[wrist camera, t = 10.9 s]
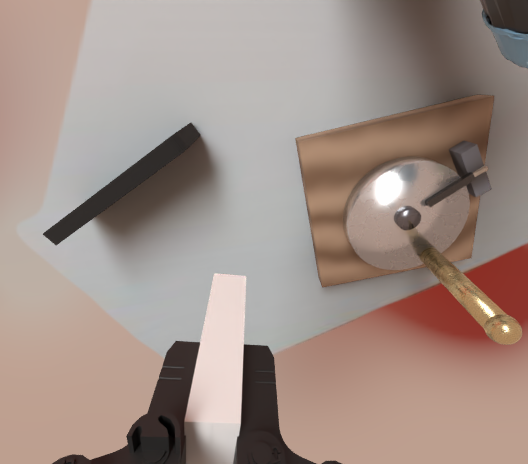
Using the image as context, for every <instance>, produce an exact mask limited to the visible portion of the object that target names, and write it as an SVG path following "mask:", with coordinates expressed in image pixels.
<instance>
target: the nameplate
mask: <svg viewBox="0 0 528 464" xmlns="http://www.w3.org/2000/svg"><path fill="white" fill-rule="evenodd" d="M199 136H200V134H199V133H198V131H197V130H196V129H195V127H194V126H193V125H192V123H189V124H188V125H187V126H185V127H184V128H182V129H181V130H179V131H178V132H176V133H175V134H173V135H172V136H171V137H169V138H168V139H167V140H165V141H164V142H163V143H162V144H160V145H159V146H158V147H156V148H155V149H154V150H152V151H151V152H150V153H148V154H147V155H146V156H144V157H143V158H142V159H140V160H139V161H138V162H137V163H135V164H134V165H133V166H131V167H130V168H129V169H127V170H126V171H125V172H123V173H122V174H121V175H119V176H118V177H117V178H116V179H114V180H113V181H112V182H110V183H109V184H108V185H106V186H105V187H104V188H102V189H101V190H100V191H98V192H97V193H96V194H94V195H93V196H92V197H91V198H89V199H88V200H87V201H85V202H84V203H83V204H81V205H80V206H79V207H77V208H76V209H75V210H73V211H72V212H71V213H69V214H68V215H67V216H66V217H64V218H63V219H62V220H60V221H59V222H58V223H56V224H55V225H54V226H52V227H51V228H50V229H48V230H47V231H46V232H44V233H43V235H44V236H45V237H47V238H48V239H49V240H50V241H51V242H53V243H54V244H55V245H57V244H59V243H60V242H61V241H63V240H64V239H66V238H67V237H68V236H70V235H71V234H72V233H74V232H75V231H76V230H78V229H79V228H81V227H82V226H83V225H85V224H86V223H87V222H89V221H90V220H91V219H93V218H94V217H96V216H97V215H98V214H100V213H101V212H102V211H104V210H105V209H106V208H108V207H109V206H111V205H112V204H113V203H115V202H116V201H117V200H119V199H120V198H121V197H123V196H124V195H126V194H127V193H128V192H130V191H131V190H132V189H134V188H135V187H136V186H138V185H139V184H141V183H142V182H143V181H145V180H146V179H147V178H149V177H150V176H151V175H153V174H154V173H156V172H157V171H158V170H160V169H161V168H162V167H164V166H165V165H166V164H168V163H169V162H171V161H172V160H173V159H175V158H176V157H177V156H179V155H180V154H181V153H183V152H184V151H185V150H186V149H188V148H189V147H190V145H191V144H192V143H193V142H194V141H195V140H196V139H197V138H198V137H199Z"/></svg>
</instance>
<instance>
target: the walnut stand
mask: <svg viewBox="0 0 528 464" xmlns="http://www.w3.org/2000/svg"><path fill="white" fill-rule="evenodd" d="M493 102H494V96H490V95H474V96H469V97H465V98H461V99H457V100H453V101H448V102H444V103H440V104H436V105H432V106H427V107H423V108H419V109H415V110H411V111H407V112H402V113H398V114H394V115H390V116H386V117H381V118H377V119H373V120H369V121H365V122H360V123H356V124H352V125H348V126H344V127H340V128H335V129H331V130H327V131H323V132H319V133H314V134H310V135H306V136H302V137H298V138H295V139H296V145H297V151H298V157H299V162H300V168H301V174H302V180H303V186H304V192H305V198H306V204H307V210H308V216H309V222H310V228H311V234H312V240H313V246H314V252H315V258H316V264H317V270H318V276H319V279H320V282H321V285H322V287H327V286H332V285H337V284H342V283H347V282H352V281H357V280H362V279H367V278H372V277H378V276H383V275H388V274H393V273H398V272H403V271H408V270H413V269H418V268H423V267H426V266H425V265H424V264H422V265H419V266H416V267H413V268H408V269H403V270H386V269H381V268H377V267H374V266H372V265H370V264H368V263H367V262H365V261H364V260H363V259H361V258H360V257H359V256H358V254H357V253H356V252H355V250H354V249H353V247H352V245H351V244H350V242H349V240H348V238H347V236H346V234H345V231H344V227H343V212H344V207H345V204H346V201H347V199H348V197H349V195H350V193H351V191H352V190H353V188H354V187H355V185H356V184H357V183H358V182H359V181H360V180H361V179H362V178H363V177H364V176H365V175H366V174H367V173H368V172H370V171H371V170H372V169H374V168H376V167H377V166H379V165H381V164H383V163H385V162H387V161H390V160H393V159H396V158H401V157H410V156H414V157H423V158H427V159H430V160H433V161H435V162H437V163H440V164H442V165H444V166H446V167H448V168H450V169H452V170H453V171H455V172H456V173H457V174H458V175H459V176H460V177H462V176H464V175H466V174H467V173H469V172H472V173H473V174H474V176H475V179H476V180H474V181H472V182H471V183H469V184H468V185H466V187H467V189H468V192H469V198H470V207H469V214H468V217H467V220H466V223H465V225H464V227H463V229H462V231H461V232H460V234H459V235H458V237H457V238H456V240H455V241H454V242H453V243H452V244H451V245H450V246H449V247H448V248H447V249H446V250H445V251H444V252H442V253H441V254H442V255H443V256H444V257H445V258H446V259H448V260H449V261H450V262H454V261H459V260H464V259H469V258H471V256H472V249H473V242H474V235H475V228H476V221H477V214H478V207H479V200H480V195H482V194H484V193H486V192H487V191H489V190H491V186H490V183H489V180H488V176H487V173H486V171H487V170H488V167H487V166H484V165H485V158H486V151H487V144H488V137H489V130H490V123H491V116H492V109H493Z"/></svg>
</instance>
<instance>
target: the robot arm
mask: <svg viewBox="0 0 528 464" xmlns="http://www.w3.org/2000/svg"><path fill="white" fill-rule="evenodd" d="M480 1H481V4H482V7H483V11H482V17H483V20H484V22H485V24H486V26H487V27H488V28H489V29H490V30H491V31H492V32H493V35H494V37H495V39H496V42H497V44H498V47H499V49H500V51H501V53H502V54H503V56H504V57H505V58H506V59H507V60H510V61H512V62H513V63H514V64H517V65H518V66H520V67H524V68H528V0H480ZM245 296H246V276H240V275H228V274H215V273H214V278H213V282H212V287H211V292H210V297H209V302H208V307H207V312H206V317H205V322H204V327H203V332H202V337H201V342H184V341H176V342H175V343H174V344H173V345H172V347H171V348H170V349H169V350H168V351H167V353H166V357H165V360H164V363H163V367H162V369H161V372H160V375H159V380H158V382H157V385H156V388H155V391H154V395H153V398H152V401H151V404H150V407H149V410H148V413H147V414H146V415H143V416H142V417H140V418H139V419H138V420H137V421H136V422H135V423H134V424H133V425H132V427H131V429H130V431H129V432H128V434H127V440H128V445H127V446H125V447H124V448H122V449H120V450H118V451H116V452H113V453H110V454H107V455H104V456H101V457H98V458H95V459H92V460H89V459H87V458H86V457H84V456H83V455H69V456H67V457H63V458H61V459H59V460H57V461H56V462H54V463H53V464H316V463H313V462H311V461H309V460H307V459H304V458H302V457H300V456H298V455H297V454H295V453H293V452H292V451H291V450H290V449H289V448H288V447H287V445H286V444H285V442H284V441H283V439H282V436H281V434H280V430H279V419H278V406H277V392H276V379H275V365H274V357H273V355H272V353H271V351H270V349H269V347H268V346H261V345H245V344H244V323H245ZM322 464H341V463H339V462H337V461H325V462H324V463H322Z"/></svg>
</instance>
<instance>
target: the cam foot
mask: <svg viewBox="0 0 528 464" xmlns="http://www.w3.org/2000/svg"><path fill="white" fill-rule="evenodd" d="M474 180H476V179H475V176H474V174H473V173H472V172H469V173H467V174H466V175H464V176H462V177H460V176H459V175H458V174H457V173H456V172H455V171H453V170H452V169H450V168H448V167H446V166H444V165H442V164H440V163H437V162H435V161H433V160H430V159H427V158H423V157H414V156H410V157H401V158H396V159H393V160H390V161H387V162H385V163H383V164H381V165H379V166H377V167H376V168H374V169H372V170H371V171H370V172H368V173H367V174H366V175H365V176H364V177H363V178H362V179H361V180H360V181H359V182H358V183H357V184H356V185H355V187H354V188H353V190H352V191H351V193H350V195H349V197H348V199H347V201H346V204H345V207H344V212H343V227H344V231H345V234H346V236H347V238H348V240H349V242H350V244H351V245H352V247H353V249H354V250H355V252H356V253H357V254H358V256H359V257H360V258H361V259H363V260H364V261H365V262H367V263H368V264H370V265H372V266H374V267H377V268H381V269H386V270H403V269H408V268H413V267H416V266H419V265H422V264H424V265H425V266H426V267H427V268H428V269H429V270H430V271H431V272H432V273H433V274H434V275H435V276H436V278H437V279H438V280H439V281H440V282H441V283H442V284H443V285H444V286H445V287H446V288H447V289H448V290H449V291H450V293H452V295H453V296H454V297H455V298H456V299H457V300H458V301H459V302H460V303H461V305H462V306H463V307H464V308H465V309H466V310H467V311H468V312H469V313H470V314H471V315H472V316H473V317H474V318H475V320H476V321H477V322H478V323H479V324H480V325H481V326H482V327H483V328H484V330H485V332H486V334H487V336H488V337H489V338H490V339H492V340H493V341H495V342H497V343H500V344H504V345H510V344H514V343H516V342H518V341H519V340H520V338H521V336H522V328H521V326H520V324H519V323H518V322H517V321H516V320H515V319H514V318H512V317H511V316H509V315H507V314H506V313H504V311H503V310H501V309H500V308H499V307H498V306H497V305H496V304H495V303H494V302H493V301H492V300H491V299H490V298H489V297H487V296H486V295H485V294H484V293H483V292H482V291H481V290H480V289H479V288H478V287H477V286H476V285H474V284H473V283H472V282H471V281H470V280H469V279H468V278H467V277H466V276H465V275H464V274H463V273H462V272H460V271H459V270H458V269H457V268H456V267H455V266H454V265H453V264H452V263H451V262H450V261H449V260H448V259H446V258H445V257H444V256H443V255H442V254H441V253H442V252H444V251H445V250H446V249H447V248H448V247H449V246H450V245H451V244H452V243H453V242H454V241H455V240H456V238H457V237H458V235H459V234H460V232H461V231H462V229H463V227H464V225H465V223H466V220H467V217H468V214H469V207H470V198H469V192H468V189H467V187H466V185H468V184H469V183H471V182H472V181H474Z"/></svg>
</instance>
